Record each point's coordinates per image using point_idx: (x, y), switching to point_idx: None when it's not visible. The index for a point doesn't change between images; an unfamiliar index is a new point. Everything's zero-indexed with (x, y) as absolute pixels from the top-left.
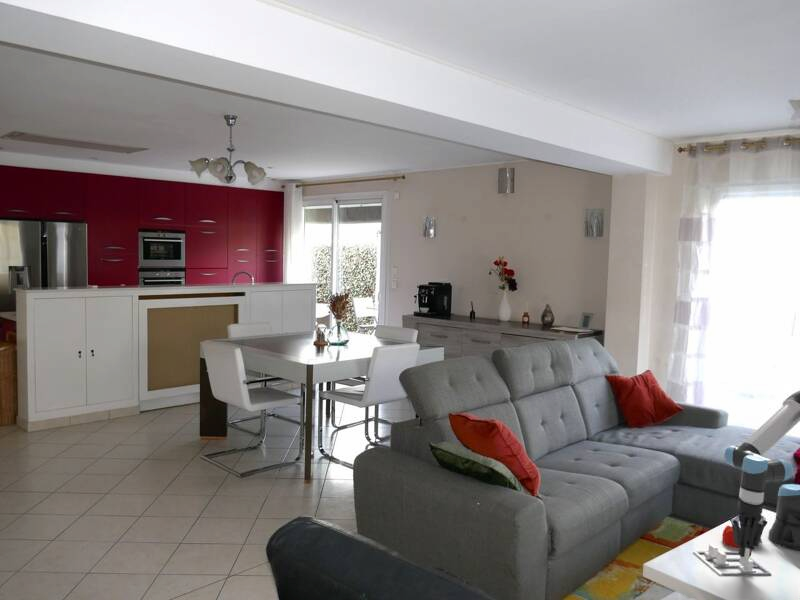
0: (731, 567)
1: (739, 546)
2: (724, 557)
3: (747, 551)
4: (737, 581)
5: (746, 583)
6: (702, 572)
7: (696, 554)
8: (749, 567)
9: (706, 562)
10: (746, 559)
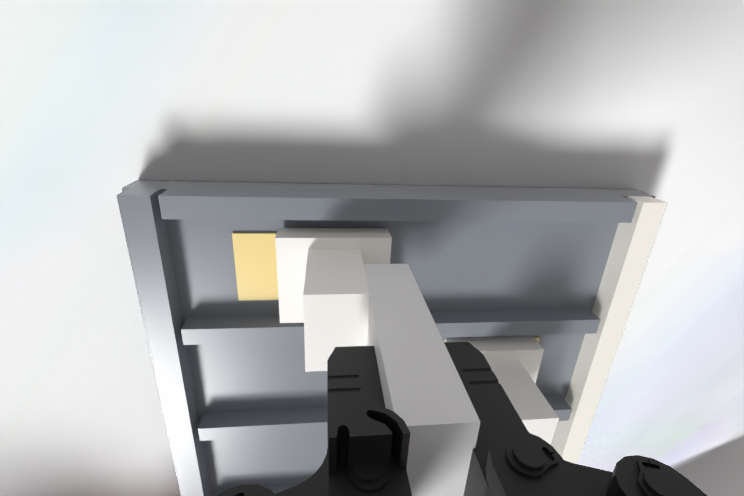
0: (445, 316)
1: (653, 461)
2: (512, 395)
3: (432, 388)
4: (495, 157)
5: (439, 120)
6: (656, 287)
7: (574, 462)
8: (344, 261)
9: (608, 369)
10: (407, 306)
